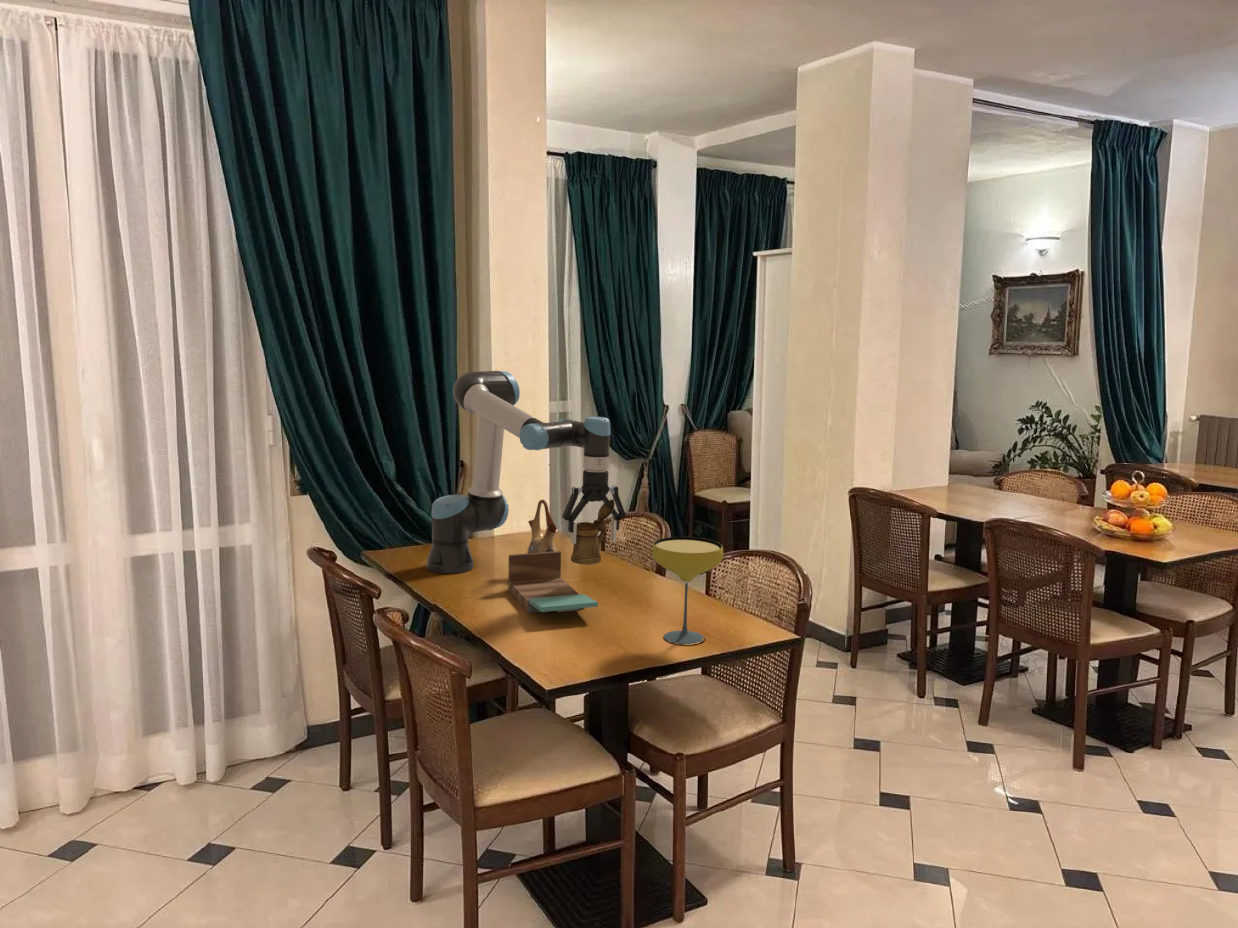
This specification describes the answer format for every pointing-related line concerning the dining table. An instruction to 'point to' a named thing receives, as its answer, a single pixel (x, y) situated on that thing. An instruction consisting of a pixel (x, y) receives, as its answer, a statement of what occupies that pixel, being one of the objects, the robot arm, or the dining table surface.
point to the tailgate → (563, 603)
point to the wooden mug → (590, 538)
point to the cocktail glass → (686, 570)
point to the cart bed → (536, 578)
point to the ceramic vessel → (538, 539)
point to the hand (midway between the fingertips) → (593, 541)
